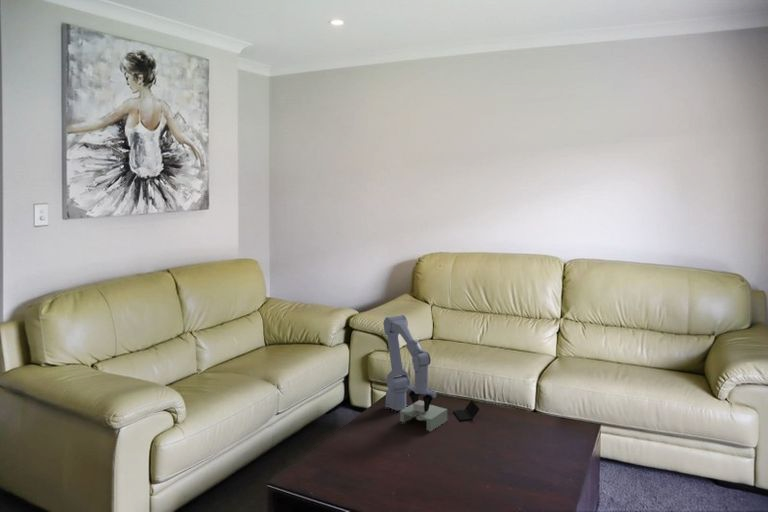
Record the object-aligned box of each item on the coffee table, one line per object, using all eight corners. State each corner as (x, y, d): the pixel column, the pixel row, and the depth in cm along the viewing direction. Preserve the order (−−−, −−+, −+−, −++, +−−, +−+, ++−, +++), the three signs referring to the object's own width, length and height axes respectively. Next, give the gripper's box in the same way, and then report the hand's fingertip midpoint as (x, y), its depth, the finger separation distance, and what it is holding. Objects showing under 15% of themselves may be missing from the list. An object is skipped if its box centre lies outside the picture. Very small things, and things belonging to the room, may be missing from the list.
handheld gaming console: (449, 409, 267) (462, 392, 266) (459, 416, 270) (472, 399, 269) (459, 422, 256) (473, 404, 256) (470, 429, 259) (484, 412, 259)
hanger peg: (413, 419, 254) (413, 403, 253) (419, 415, 258) (419, 400, 257) (422, 421, 251) (422, 406, 250) (429, 418, 255) (429, 402, 254)
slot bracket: (400, 422, 256) (400, 410, 255) (417, 412, 267) (417, 401, 266) (430, 431, 246) (430, 419, 246) (447, 420, 258) (447, 409, 257)
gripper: (402, 379, 254) (402, 408, 256) (430, 385, 245) (430, 416, 247) (411, 374, 259) (411, 403, 261) (439, 381, 251) (438, 411, 252)
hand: (421, 409), depth 254 cm, fingers closed on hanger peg, 5 cm apart
